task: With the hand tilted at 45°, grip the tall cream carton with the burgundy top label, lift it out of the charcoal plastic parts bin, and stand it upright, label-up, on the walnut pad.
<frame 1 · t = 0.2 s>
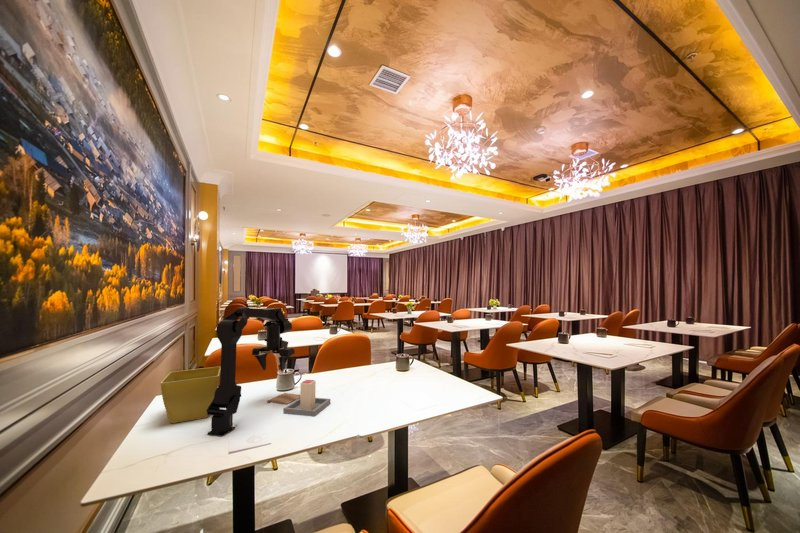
hand: (273, 370, 139), 15 cm above the table, fingers open, 9 cm apart
carton: (307, 408, 131), resting on parts bin
pad: (285, 400, 142), on the table
flower pot: (192, 415, 126), on the table
parts bin: (307, 409, 131), on the table
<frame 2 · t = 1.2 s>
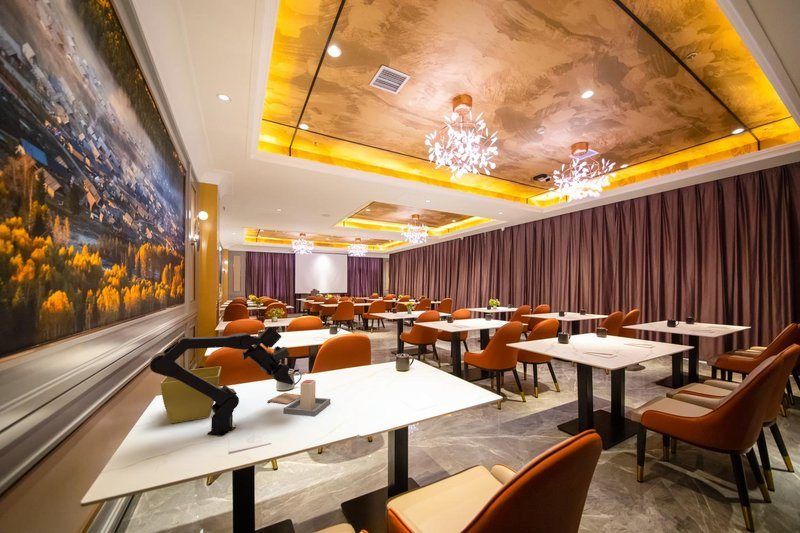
hand: (288, 381, 127), 13 cm above the table, fingers open, 9 cm apart
nothing on the table moved.
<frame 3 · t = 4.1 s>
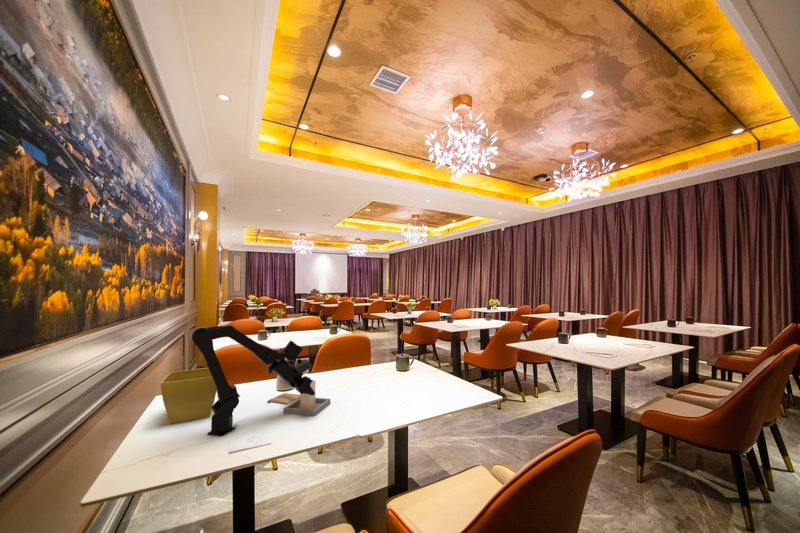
hand: (311, 392, 132), 7 cm above the table, fingers closed on carton, 6 cm apart
carton: (307, 408, 131), point 1 cm above the table, touching gripper, parts bin
everything else where it was.
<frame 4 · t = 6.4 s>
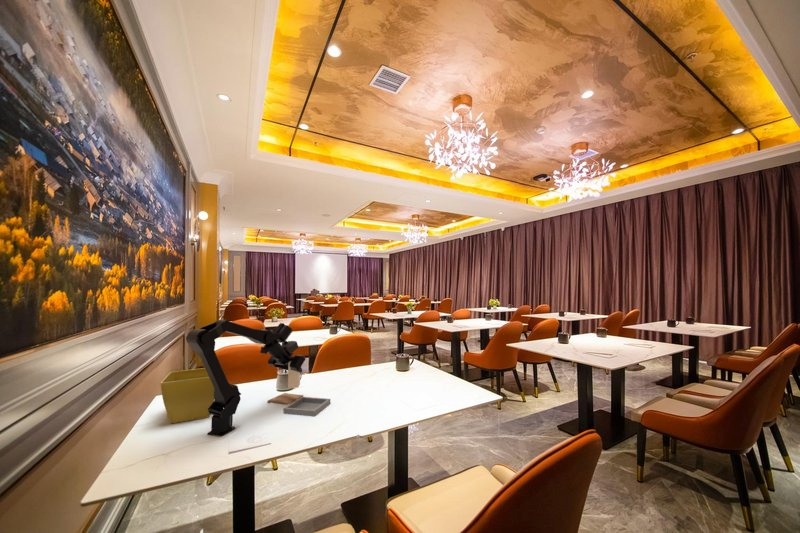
hand: (296, 371, 142), 13 cm above the table, fingers closed on carton, 6 cm apart
carton: (294, 386, 140), point 7 cm above the table, touching gripper
everything else where it was.
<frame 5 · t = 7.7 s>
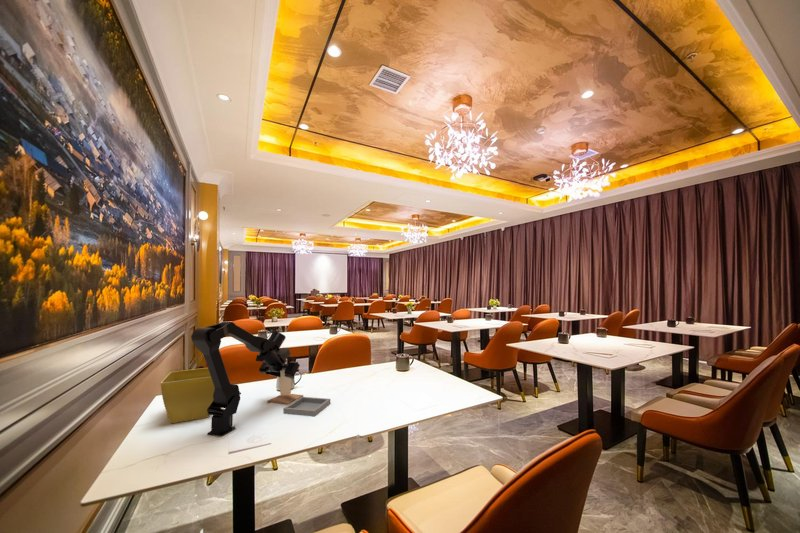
hand: (287, 377, 144), 10 cm above the table, fingers closed on carton, 6 cm apart
carton: (285, 392, 142), point 4 cm above the table, touching gripper
everything else where it was.
when the fingers open (8 cm above the table, at t = 8.9 s): carton drops 1 cm, resting on pad.
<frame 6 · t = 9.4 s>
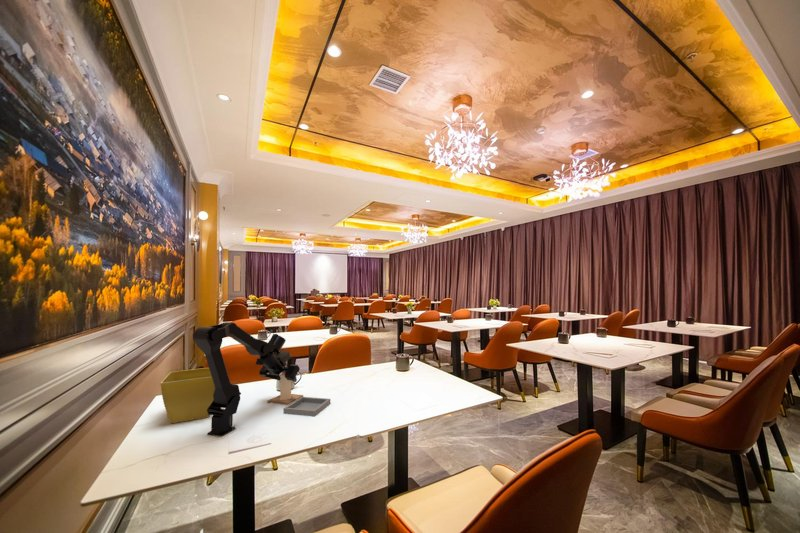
hand: (288, 380, 144), 9 cm above the table, fingers open, 9 cm apart
carton: (285, 397, 142), point 1 cm above the table, touching pad
everything else where it was.
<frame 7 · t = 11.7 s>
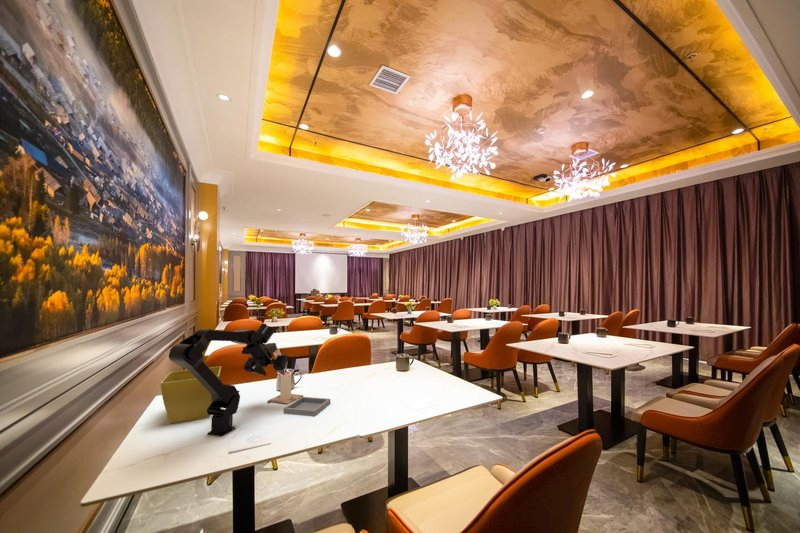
hand: (274, 374, 137), 13 cm above the table, fingers open, 9 cm apart
nothing on the table moved.
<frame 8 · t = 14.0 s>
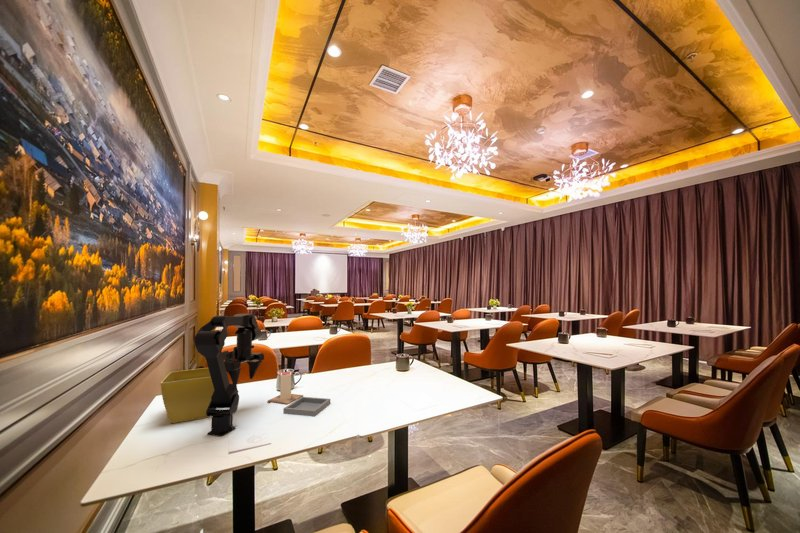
hand: (243, 381, 127), 13 cm above the table, fingers open, 9 cm apart
nothing on the table moved.
at the end: carton inside the target area on the pad (0.1 cm from its centre), point 1.0 cm above the pad's base; carton tilted 0°; the gripper is holding nothing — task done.
